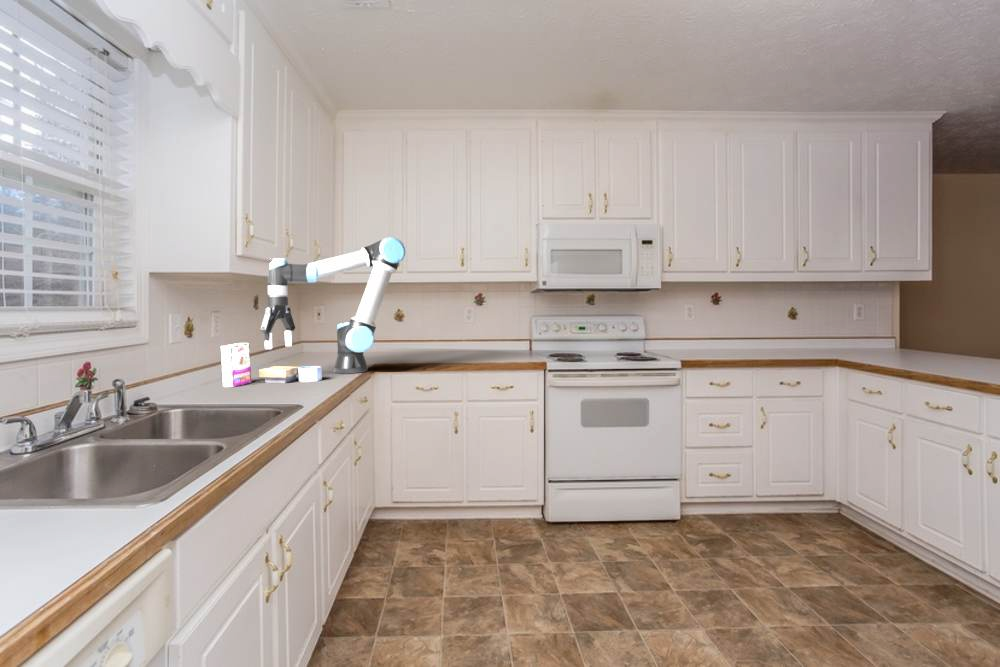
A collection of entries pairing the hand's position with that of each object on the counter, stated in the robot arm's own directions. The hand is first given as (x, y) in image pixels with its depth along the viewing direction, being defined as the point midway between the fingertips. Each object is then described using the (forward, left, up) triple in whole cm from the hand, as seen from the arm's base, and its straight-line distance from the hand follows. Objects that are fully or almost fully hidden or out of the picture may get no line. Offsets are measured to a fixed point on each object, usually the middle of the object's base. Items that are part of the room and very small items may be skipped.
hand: (279, 347), depth 209 cm
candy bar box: (+11, -12, -14) cm, 22 cm away
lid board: (0, 0, -12) cm, 12 cm away
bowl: (-4, +11, -14) cm, 19 cm away
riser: (0, 0, -14) cm, 14 cm away
